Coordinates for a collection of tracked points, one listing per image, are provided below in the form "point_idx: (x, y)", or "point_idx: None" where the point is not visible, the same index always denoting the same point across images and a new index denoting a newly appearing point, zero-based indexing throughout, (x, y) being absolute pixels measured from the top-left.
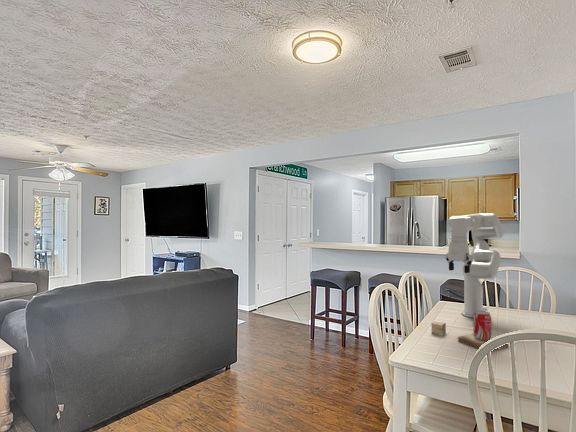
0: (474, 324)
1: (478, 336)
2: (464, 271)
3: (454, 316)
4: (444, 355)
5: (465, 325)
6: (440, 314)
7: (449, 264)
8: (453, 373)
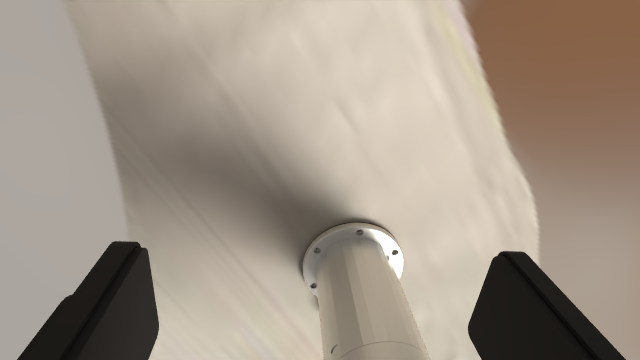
0: None
1: None
2: (134, 259)
3: (391, 178)
4: None
5: (266, 88)
6: (454, 147)
7: (600, 353)
8: None
